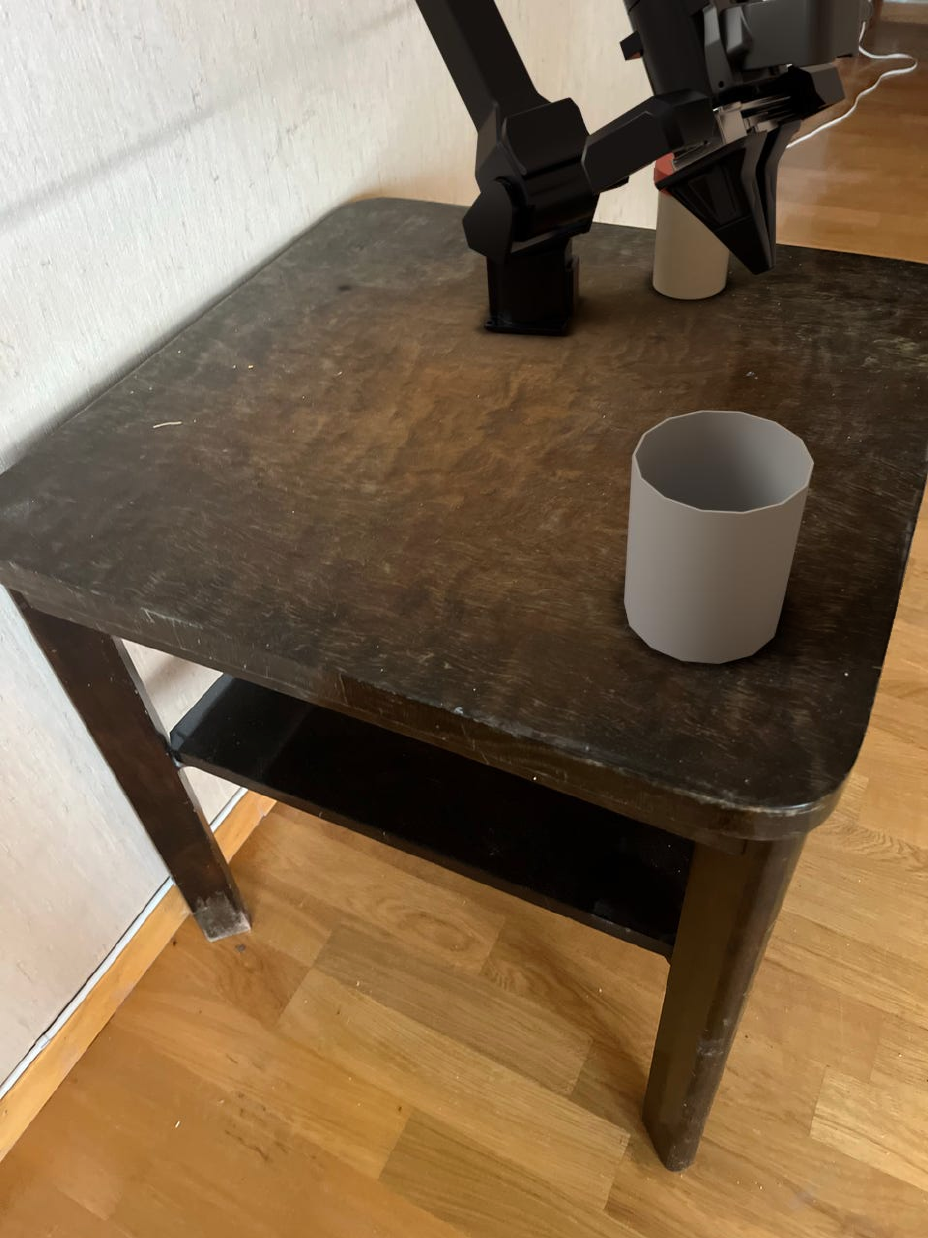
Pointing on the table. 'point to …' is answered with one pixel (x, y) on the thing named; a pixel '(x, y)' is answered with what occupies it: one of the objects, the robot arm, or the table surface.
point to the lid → (663, 169)
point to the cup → (713, 533)
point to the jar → (686, 254)
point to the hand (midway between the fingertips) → (765, 271)
